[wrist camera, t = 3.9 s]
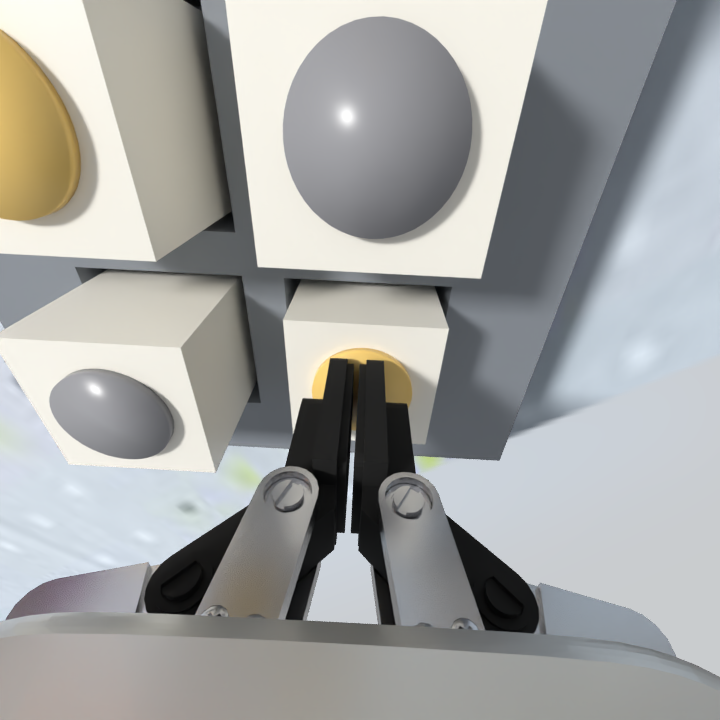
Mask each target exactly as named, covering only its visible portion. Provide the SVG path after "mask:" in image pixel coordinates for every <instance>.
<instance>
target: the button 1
mask: <svg viewBox="0 0 720 720" xmlns="http://www.w3.org/2000/svg"><path fill="white" fill-rule="evenodd" d="M231 211H232V206H231V200H230V193H229V186H228V180H227V173H226V166H225V160H224V153H223V146H222V140H221V133H220V126H219V119H218V113H217V106H216V99H215V93H214V86H213V79H212V73H211V66H210V59H209V53H208V46H207V39H206V33H205V26H204V19H203V13H202V11H200V10H199V9H197V8H195V7H194V6H192V5H190V4H189V3H187V2H185V1H183V0H0V253H1V254H20V255H39V256H58V257H77V258H96V259H115V260H134V261H153V262H156V261H158V260H159V259H161V258H162V257H164V256H165V255H167V254H168V253H170V252H171V251H173V250H174V249H176V248H177V247H179V246H180V245H182V244H183V243H185V242H186V241H188V240H189V239H191V238H192V237H194V236H195V235H197V234H198V233H200V232H201V231H203V230H204V229H206V228H207V227H209V226H210V225H212V224H213V223H215V222H216V221H218V220H219V219H221V218H222V217H224V216H225V215H227V214H228V213H229V212H231Z"/></svg>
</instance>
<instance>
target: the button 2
mask: <svg viewBox="0 0 720 720" xmlns="http://www.w3.org/2000/svg"><path fill="white" fill-rule="evenodd" d="M0 354H1V356H2V357H3V359H4V361H5V362H6V364H7V365H8V367H9V369H10V370H11V372H12V373H13V375H14V377H15V378H16V380H17V381H18V383H19V385H20V386H21V388H22V390H23V391H24V393H25V394H26V396H27V398H28V399H29V401H30V402H31V404H32V406H33V407H34V409H35V410H36V412H37V414H38V415H39V417H40V418H41V420H42V422H43V423H44V425H45V426H46V428H47V430H48V431H49V433H50V435H51V436H52V438H53V439H54V441H55V443H56V444H57V446H58V447H59V449H60V451H61V452H62V454H63V455H64V457H65V459H66V460H67V462H68V463H69V464H72V465H90V466H107V467H125V468H143V469H161V470H178V471H196V472H214V473H216V471H217V469H218V467H219V464H220V462H221V460H222V458H223V455H224V453H225V451H226V449H227V446H228V444H229V442H230V440H231V437H232V435H233V433H234V431H235V428H236V426H237V424H238V422H239V420H240V417H241V415H242V413H243V411H244V408H245V406H246V404H247V402H248V399H249V397H250V395H251V393H252V390H253V388H254V386H255V384H256V381H257V373H256V367H255V360H254V353H253V347H252V340H251V333H250V327H249V320H248V313H247V306H246V300H245V293H244V286H243V280H242V276H237V275H218V274H199V273H180V272H161V271H142V270H123V269H108V270H106V271H104V272H103V273H101V274H99V275H97V276H96V277H94V278H92V279H90V280H89V281H87V282H85V283H84V284H82V285H80V286H78V287H77V288H75V289H73V290H71V291H70V292H68V293H66V294H65V295H63V296H61V297H59V298H58V299H56V300H54V301H52V302H51V303H49V304H47V305H45V306H44V307H42V308H40V309H39V310H37V311H35V312H33V313H32V314H30V315H28V316H26V317H25V318H23V319H21V320H20V321H18V322H16V323H14V324H13V325H11V326H9V327H7V328H6V329H4V330H2V331H1V332H0Z"/></svg>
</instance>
